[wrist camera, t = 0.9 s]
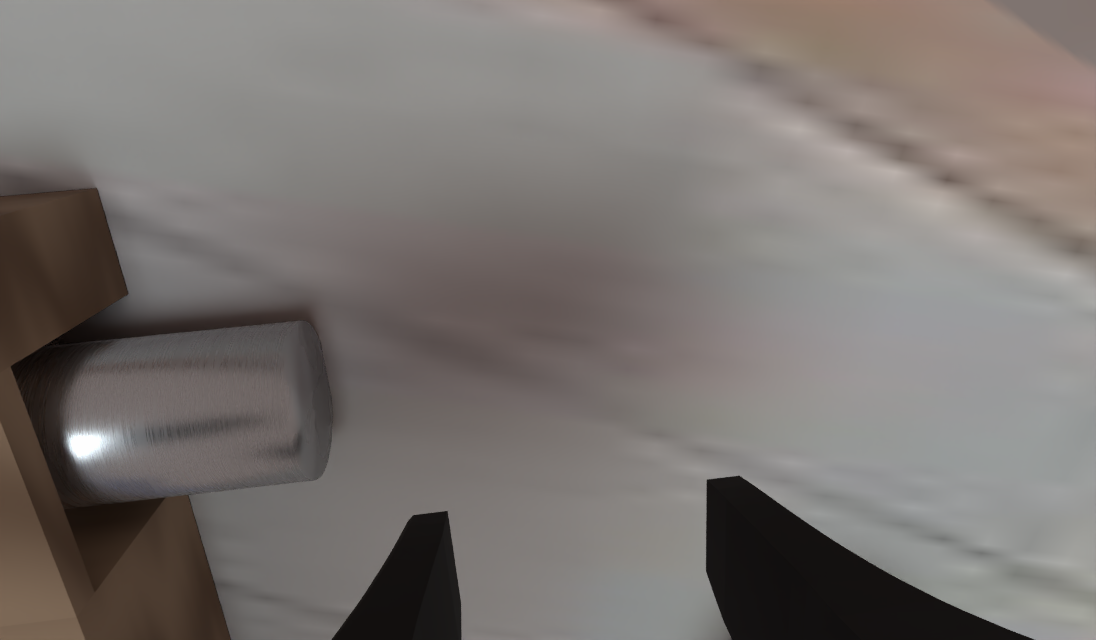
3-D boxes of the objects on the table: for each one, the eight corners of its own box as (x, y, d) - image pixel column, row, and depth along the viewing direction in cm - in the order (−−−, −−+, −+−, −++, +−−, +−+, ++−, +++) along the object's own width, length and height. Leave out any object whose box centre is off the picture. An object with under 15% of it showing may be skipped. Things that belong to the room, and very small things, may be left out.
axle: (340, 431, 22) (307, 512, 18) (-196, 491, 21) (-366, 593, 16) (314, 300, 20) (272, 355, 16) (-265, 357, 19) (-470, 432, 15)
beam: (246, 691, 24) (176, 874, 19) (130, 707, 24) (25, 897, 19) (96, 188, 18) (-72, 235, 13) (-60, 201, 18) (-303, 256, 12)
